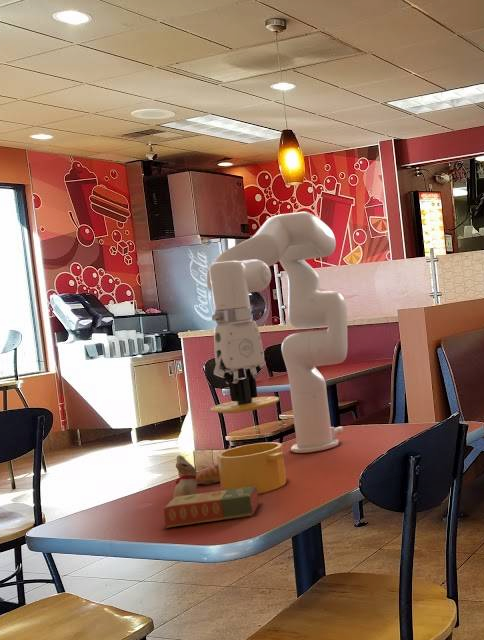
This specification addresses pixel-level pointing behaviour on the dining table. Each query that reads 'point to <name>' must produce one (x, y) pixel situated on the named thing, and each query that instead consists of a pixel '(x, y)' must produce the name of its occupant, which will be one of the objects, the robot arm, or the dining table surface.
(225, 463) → the pot
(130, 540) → the dining table surface
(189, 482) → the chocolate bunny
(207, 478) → the pastry
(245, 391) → the lid
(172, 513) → the carton
